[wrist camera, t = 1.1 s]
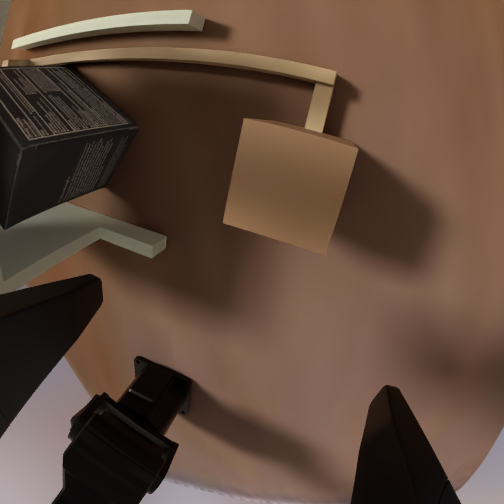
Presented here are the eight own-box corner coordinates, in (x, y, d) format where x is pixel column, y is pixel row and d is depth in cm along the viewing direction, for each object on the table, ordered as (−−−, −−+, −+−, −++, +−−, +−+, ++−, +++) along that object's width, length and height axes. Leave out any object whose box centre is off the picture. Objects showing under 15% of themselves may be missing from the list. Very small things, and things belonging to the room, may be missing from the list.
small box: (42, 123, 22) (-51, 143, 13) (69, 63, 19) (-33, 64, 10) (105, 192, 23) (0, 237, 14) (142, 126, 20) (21, 144, 11)
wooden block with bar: (316, 256, 20) (302, 316, 14) (24, 169, 25) (-29, 186, 19) (365, 82, 15) (381, 57, 9) (34, 60, 20) (-23, 61, 13)
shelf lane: (165, 248, 23) (47, 344, 12) (15, 192, 26) (-74, 231, 15) (205, 18, 16) (65, -53, 5) (27, 40, 19) (-73, 44, 8)
